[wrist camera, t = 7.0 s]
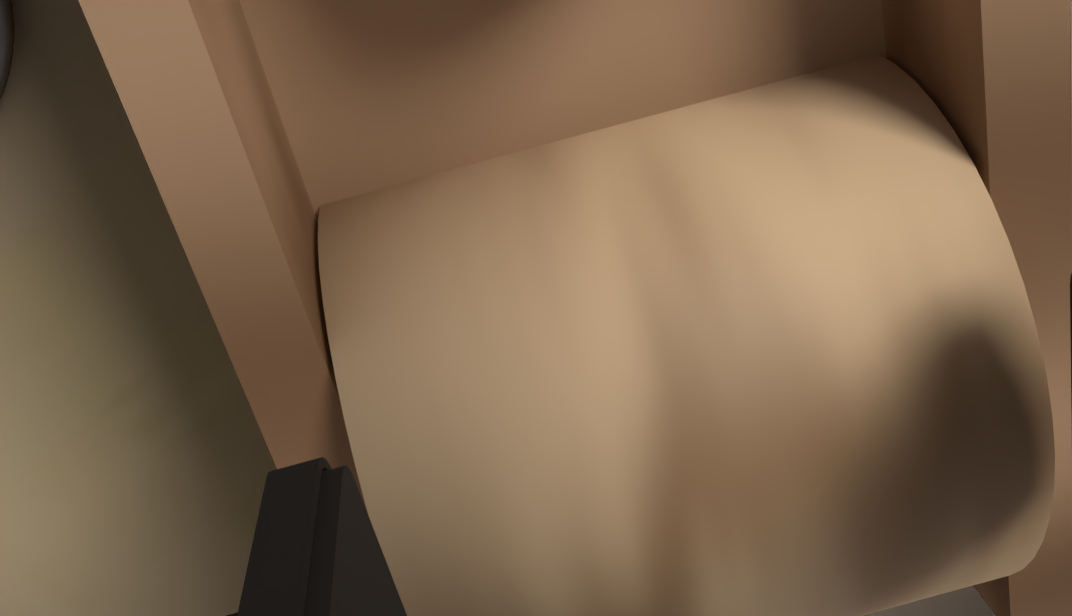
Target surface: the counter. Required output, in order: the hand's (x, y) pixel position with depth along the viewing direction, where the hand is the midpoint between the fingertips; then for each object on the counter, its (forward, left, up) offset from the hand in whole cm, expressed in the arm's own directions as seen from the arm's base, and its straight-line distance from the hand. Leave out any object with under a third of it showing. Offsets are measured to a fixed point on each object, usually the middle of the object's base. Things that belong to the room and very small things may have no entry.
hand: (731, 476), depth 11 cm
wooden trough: (+8, 0, -9) cm, 12 cm away
